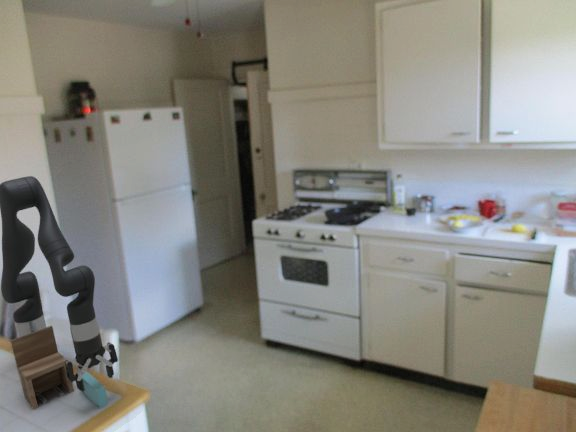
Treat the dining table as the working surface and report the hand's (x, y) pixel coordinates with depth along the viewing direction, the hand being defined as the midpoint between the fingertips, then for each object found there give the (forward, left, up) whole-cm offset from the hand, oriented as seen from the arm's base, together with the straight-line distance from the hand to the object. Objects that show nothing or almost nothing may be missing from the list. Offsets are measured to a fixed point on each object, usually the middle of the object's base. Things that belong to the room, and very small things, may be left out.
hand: (96, 383), depth 145 cm
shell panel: (-4, 0, -7) cm, 8 cm away
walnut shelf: (-18, -9, -7) cm, 21 cm away
